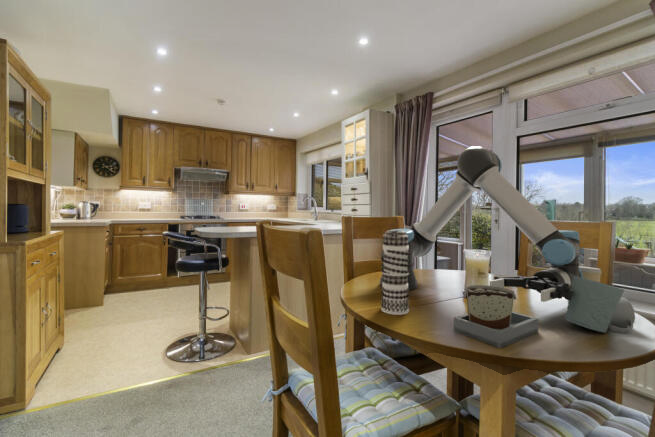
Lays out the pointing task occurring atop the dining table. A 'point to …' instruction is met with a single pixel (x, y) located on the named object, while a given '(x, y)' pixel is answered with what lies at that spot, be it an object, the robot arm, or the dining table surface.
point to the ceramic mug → (623, 317)
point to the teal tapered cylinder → (592, 304)
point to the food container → (490, 305)
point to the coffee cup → (590, 273)
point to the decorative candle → (395, 272)
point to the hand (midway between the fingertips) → (514, 290)
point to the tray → (498, 338)
